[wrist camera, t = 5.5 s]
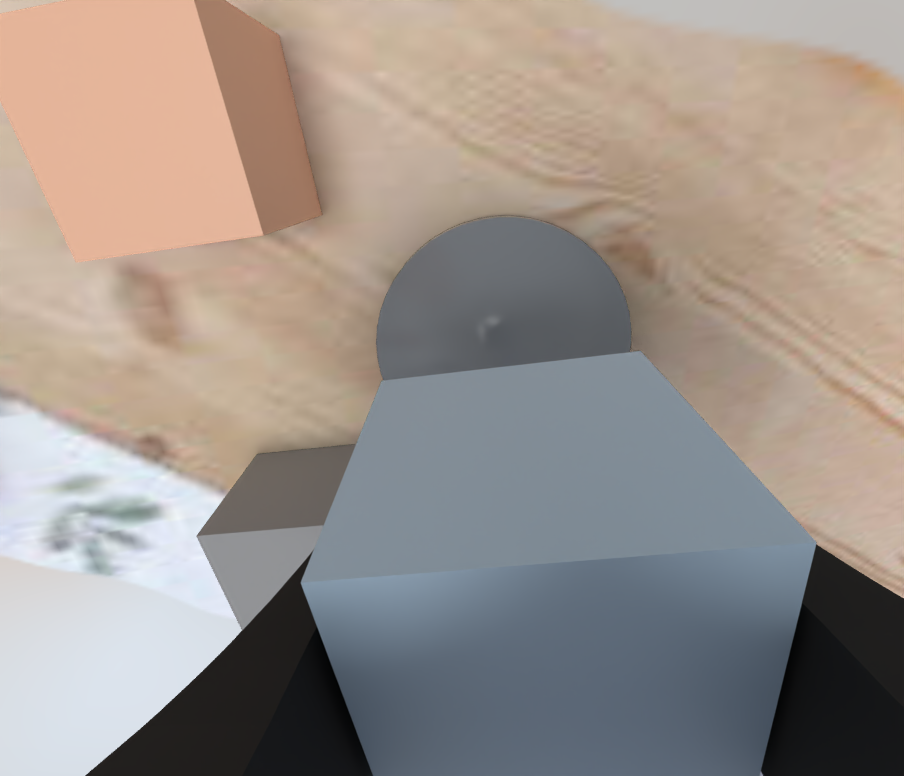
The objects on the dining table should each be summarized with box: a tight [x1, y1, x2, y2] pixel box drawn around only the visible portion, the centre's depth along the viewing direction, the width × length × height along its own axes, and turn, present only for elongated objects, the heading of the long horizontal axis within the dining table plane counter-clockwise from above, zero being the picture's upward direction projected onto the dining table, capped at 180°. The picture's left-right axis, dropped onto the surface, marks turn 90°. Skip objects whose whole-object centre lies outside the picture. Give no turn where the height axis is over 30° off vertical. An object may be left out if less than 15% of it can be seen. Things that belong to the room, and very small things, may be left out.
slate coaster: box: [376, 216, 631, 380], centre depth 17 cm, size 9×9×1 cm
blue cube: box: [301, 351, 817, 776], centre depth 8 cm, size 5×5×5 cm
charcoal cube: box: [197, 444, 356, 630], centre depth 19 cm, size 5×5×5 cm
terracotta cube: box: [0, 0, 322, 262], centre depth 13 cm, size 5×5×5 cm
